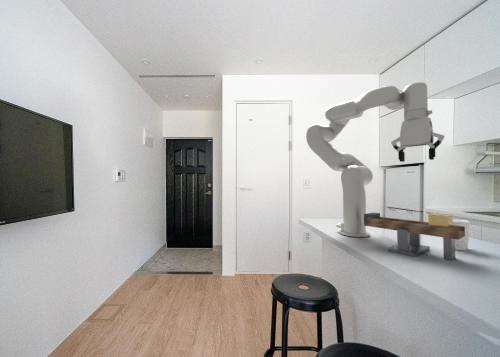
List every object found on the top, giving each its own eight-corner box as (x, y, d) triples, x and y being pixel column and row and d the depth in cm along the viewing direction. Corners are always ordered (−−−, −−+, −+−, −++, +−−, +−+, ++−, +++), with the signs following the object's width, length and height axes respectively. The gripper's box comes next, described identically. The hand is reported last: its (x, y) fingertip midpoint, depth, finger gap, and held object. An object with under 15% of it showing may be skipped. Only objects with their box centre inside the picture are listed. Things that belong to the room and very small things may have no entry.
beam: (363, 227, 91) (363, 213, 91) (373, 225, 96) (373, 212, 96) (458, 242, 69) (458, 224, 69) (464, 238, 74) (464, 221, 74)
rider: (433, 227, 79) (433, 213, 79) (452, 230, 75) (452, 214, 75) (428, 229, 76) (428, 214, 76) (448, 232, 72) (448, 216, 72)
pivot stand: (388, 251, 81) (388, 227, 81) (404, 244, 90) (404, 223, 90) (415, 256, 75) (414, 231, 75) (429, 249, 83) (429, 226, 84)
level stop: (443, 258, 73) (443, 236, 73) (447, 256, 76) (446, 234, 76) (451, 260, 72) (451, 237, 72) (455, 257, 74) (454, 235, 74)
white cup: (446, 243, 91) (445, 218, 91) (473, 248, 84) (472, 220, 85) (438, 246, 87) (437, 219, 87) (466, 252, 80) (465, 222, 80)
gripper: (446, 112, 86) (447, 159, 86) (395, 122, 100) (395, 162, 100) (440, 109, 82) (441, 158, 81) (387, 119, 95) (387, 161, 95)
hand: (416, 160), depth 90 cm, fingers open, 9 cm apart
